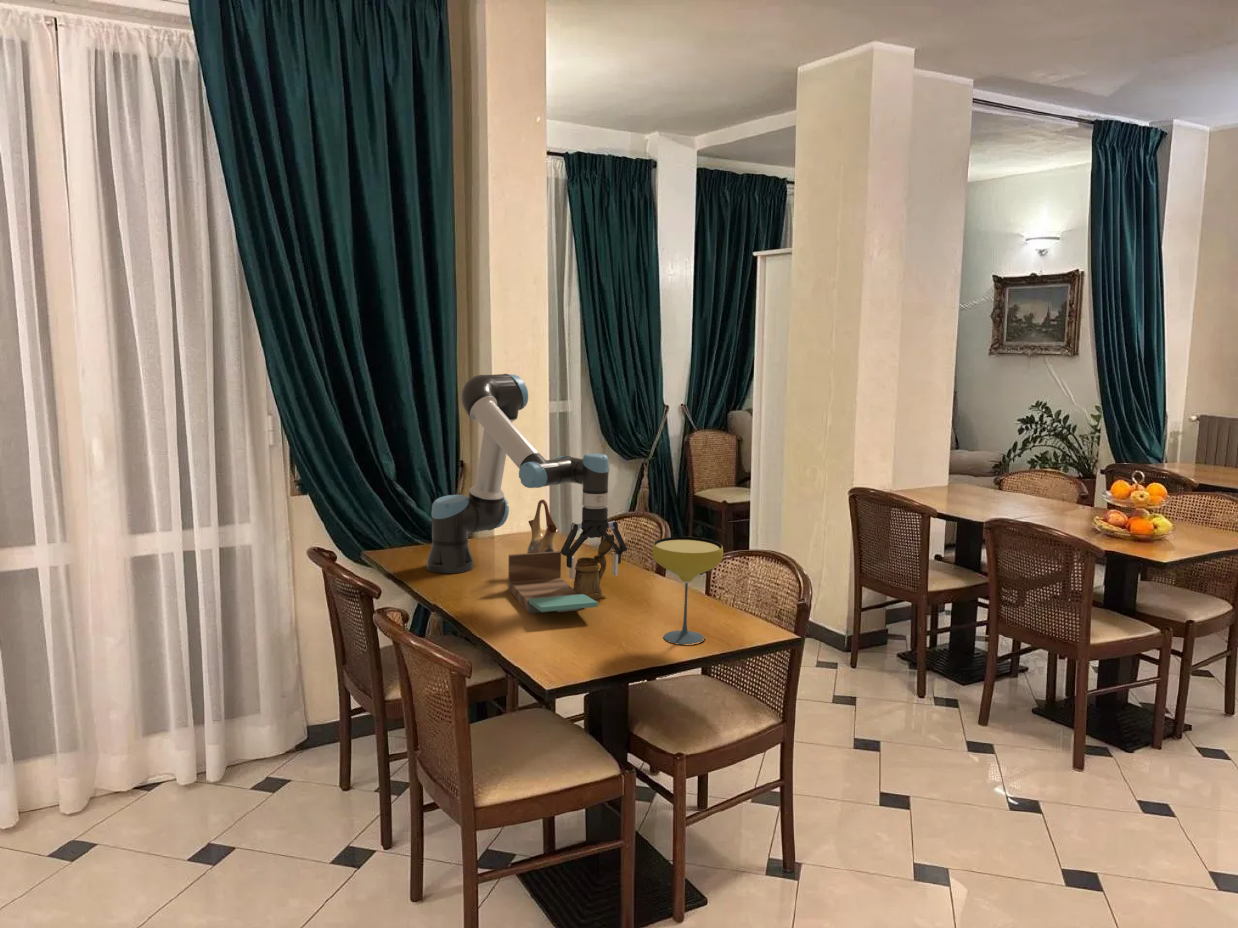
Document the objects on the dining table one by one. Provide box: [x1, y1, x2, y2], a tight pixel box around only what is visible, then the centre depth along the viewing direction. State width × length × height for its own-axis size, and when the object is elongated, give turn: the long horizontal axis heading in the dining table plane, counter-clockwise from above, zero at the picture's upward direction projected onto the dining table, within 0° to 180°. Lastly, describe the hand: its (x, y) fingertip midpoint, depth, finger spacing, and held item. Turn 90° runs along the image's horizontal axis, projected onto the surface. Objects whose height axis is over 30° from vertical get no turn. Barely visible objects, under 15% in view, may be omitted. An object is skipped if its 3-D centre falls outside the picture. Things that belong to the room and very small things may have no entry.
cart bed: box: [508, 550, 585, 615], centre depth 265 cm, size 24×16×11 cm
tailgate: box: [529, 594, 599, 613], centre depth 249 cm, size 2×16×12 cm
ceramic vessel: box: [526, 499, 558, 553], centre depth 288 cm, size 16×9×25 cm, turn 31°
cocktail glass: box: [651, 536, 724, 644], centre depth 233 cm, size 18×18×25 cm
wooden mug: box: [572, 533, 616, 601], centre depth 270 cm, size 9×14×18 cm, turn 121°
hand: (593, 576), depth 271 cm, fingers open, 13 cm apart
